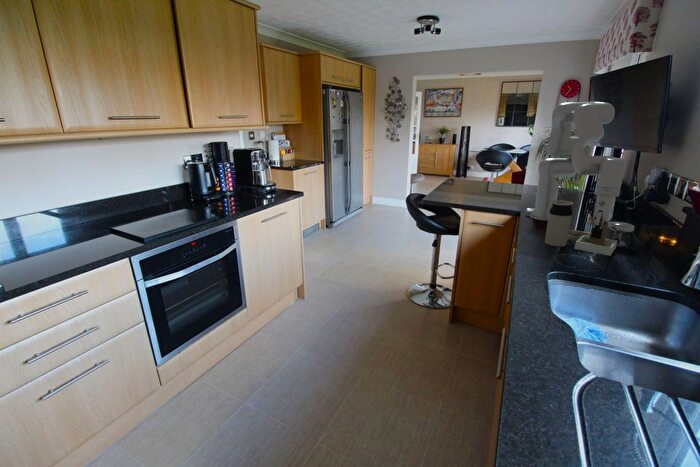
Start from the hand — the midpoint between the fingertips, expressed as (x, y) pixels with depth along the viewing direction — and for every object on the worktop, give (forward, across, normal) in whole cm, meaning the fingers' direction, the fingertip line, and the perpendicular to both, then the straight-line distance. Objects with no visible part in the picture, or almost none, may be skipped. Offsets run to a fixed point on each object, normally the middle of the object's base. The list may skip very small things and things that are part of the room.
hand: (597, 235), depth 131 cm
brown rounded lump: (+5, +1, 0) cm, 5 cm away
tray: (+5, 0, 0) cm, 5 cm away
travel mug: (+6, -4, +13) cm, 15 cm away
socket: (+5, +10, +8) cm, 14 cm away
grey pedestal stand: (+5, +11, -5) cm, 13 cm away
